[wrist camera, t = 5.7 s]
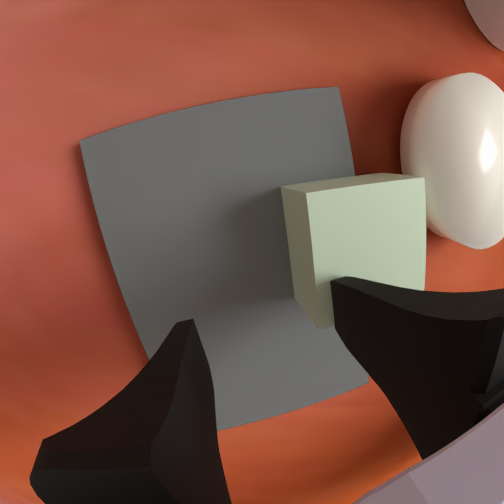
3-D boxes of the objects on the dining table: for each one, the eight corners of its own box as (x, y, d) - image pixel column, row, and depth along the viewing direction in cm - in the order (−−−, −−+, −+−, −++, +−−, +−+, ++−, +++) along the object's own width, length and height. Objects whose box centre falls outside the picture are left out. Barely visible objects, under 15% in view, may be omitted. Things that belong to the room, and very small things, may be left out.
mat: (364, 377, 17) (368, 382, 17) (187, 429, 16) (187, 436, 15) (332, 89, 12) (338, 86, 12) (83, 141, 11) (79, 140, 11)
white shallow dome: (494, 219, 16) (527, 229, 13) (399, 252, 15) (435, 270, 12) (480, 85, 14) (514, 82, 11) (375, 78, 13) (411, 64, 10)
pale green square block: (387, 273, 15) (423, 296, 12) (294, 297, 14) (319, 329, 11) (382, 172, 13) (424, 177, 10) (280, 186, 13) (306, 193, 10)
